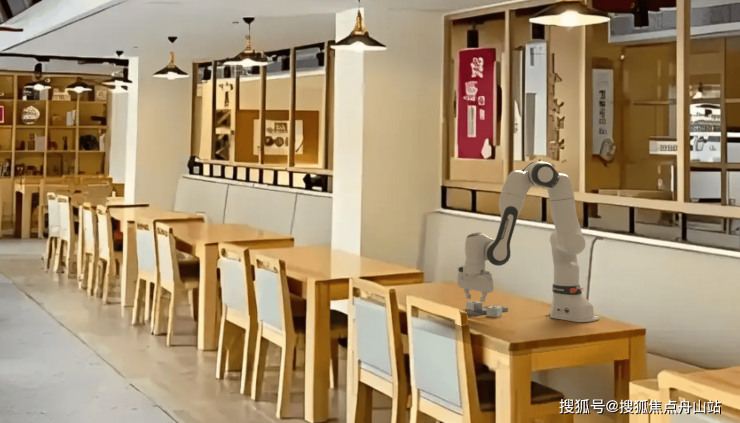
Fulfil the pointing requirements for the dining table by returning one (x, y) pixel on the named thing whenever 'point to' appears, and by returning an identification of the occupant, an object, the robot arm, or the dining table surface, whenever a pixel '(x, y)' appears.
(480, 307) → the grey cube
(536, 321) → the dining table surface
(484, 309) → the rail
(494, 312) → the nut
